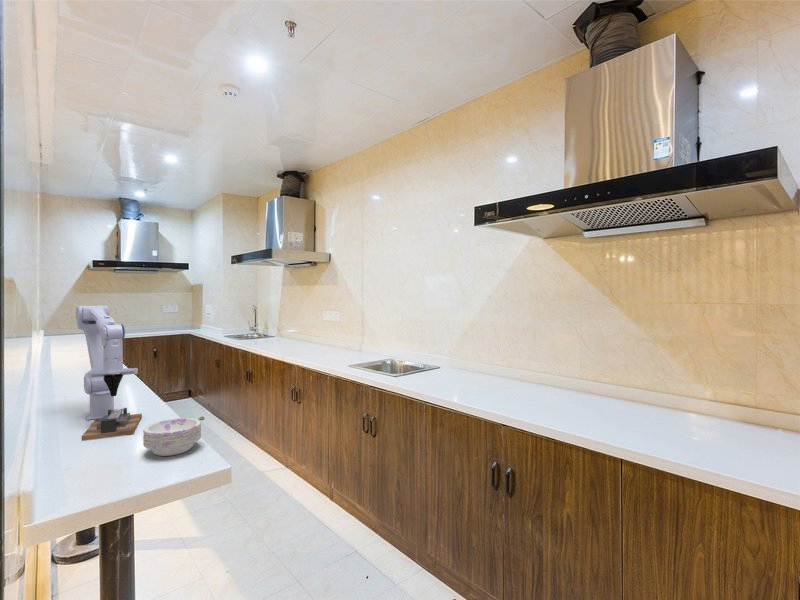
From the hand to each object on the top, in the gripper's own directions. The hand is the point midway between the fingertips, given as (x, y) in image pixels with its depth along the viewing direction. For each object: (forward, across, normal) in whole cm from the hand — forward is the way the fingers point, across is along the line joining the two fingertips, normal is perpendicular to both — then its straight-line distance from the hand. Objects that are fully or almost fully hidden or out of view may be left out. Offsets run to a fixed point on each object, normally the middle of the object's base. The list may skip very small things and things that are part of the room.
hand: (113, 395), depth 145 cm
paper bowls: (+12, +21, -35) cm, 43 cm away
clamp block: (+9, +1, -6) cm, 11 cm away
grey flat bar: (+7, +1, -5) cm, 8 cm away
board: (+10, +1, -4) cm, 11 cm away
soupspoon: (+12, +25, -17) cm, 32 cm away
